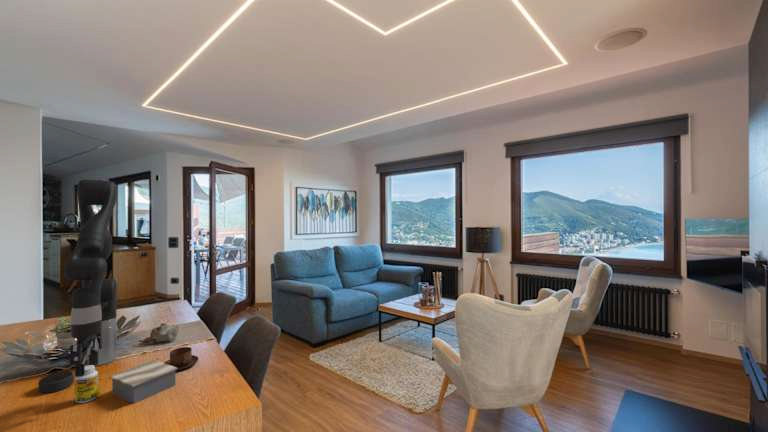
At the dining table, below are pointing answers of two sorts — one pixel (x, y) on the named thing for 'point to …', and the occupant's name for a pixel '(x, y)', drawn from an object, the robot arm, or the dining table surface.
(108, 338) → the robot arm
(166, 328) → the ceramic sculpture
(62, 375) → the smart speaker
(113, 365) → the dining table surface
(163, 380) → the plinth
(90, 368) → the supplement bottle
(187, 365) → the cup and saucer
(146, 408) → the dining table surface
